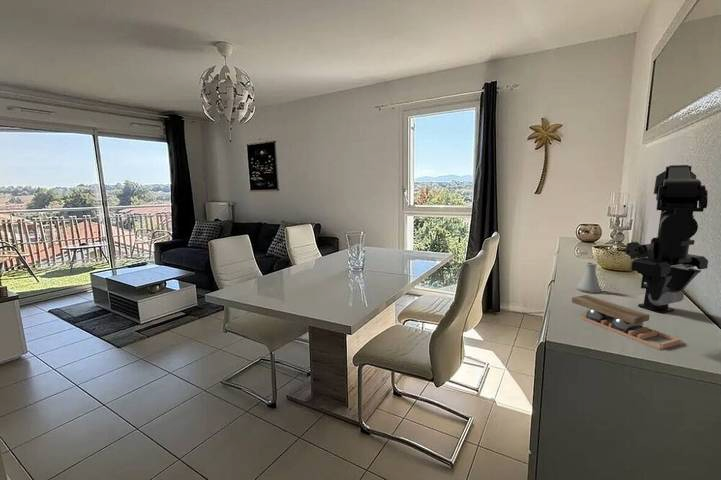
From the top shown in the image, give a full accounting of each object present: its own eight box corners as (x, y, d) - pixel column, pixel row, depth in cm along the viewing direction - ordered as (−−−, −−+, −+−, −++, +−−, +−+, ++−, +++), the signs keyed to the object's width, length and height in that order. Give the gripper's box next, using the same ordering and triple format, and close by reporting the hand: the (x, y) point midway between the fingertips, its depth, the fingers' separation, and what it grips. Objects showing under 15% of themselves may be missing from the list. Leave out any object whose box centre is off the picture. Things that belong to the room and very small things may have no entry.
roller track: (603, 314, 101) (603, 310, 101) (683, 343, 83) (684, 338, 83) (580, 318, 98) (581, 314, 98) (659, 349, 80) (660, 345, 80)
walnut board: (585, 299, 104) (586, 294, 104) (648, 320, 88) (649, 314, 88) (571, 302, 102) (572, 297, 102) (633, 324, 86) (634, 318, 86)
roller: (680, 304, 82) (686, 291, 81) (662, 308, 80) (667, 295, 78) (664, 297, 85) (669, 285, 84) (646, 301, 83) (651, 288, 81)
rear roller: (605, 319, 99) (601, 307, 100) (617, 318, 96) (612, 306, 97) (588, 323, 97) (584, 310, 98) (600, 322, 94) (595, 309, 95)
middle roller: (629, 327, 93) (627, 314, 93) (644, 329, 90) (641, 315, 90) (612, 331, 91) (610, 318, 91) (626, 333, 87) (623, 320, 88)
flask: (592, 294, 118) (595, 267, 116) (572, 288, 125) (574, 262, 123) (605, 291, 121) (608, 264, 119) (585, 286, 127) (588, 260, 126)
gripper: (659, 228, 90) (651, 284, 93) (611, 232, 84) (604, 293, 86) (714, 234, 80) (703, 297, 82) (664, 239, 73) (654, 307, 76)
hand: (664, 298), depth 82 cm, fingers closed on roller, 7 cm apart
